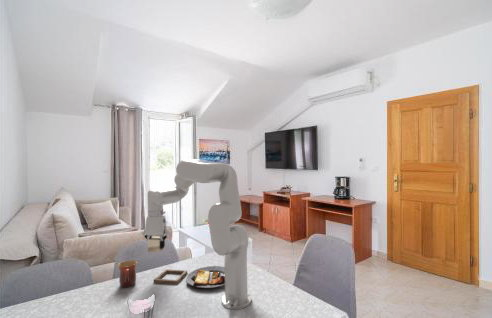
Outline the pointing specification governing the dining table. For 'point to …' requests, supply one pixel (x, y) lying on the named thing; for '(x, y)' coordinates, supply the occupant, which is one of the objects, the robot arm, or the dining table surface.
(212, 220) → the robot arm
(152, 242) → the birch block
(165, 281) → the walnut frame
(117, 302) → the dining table surface
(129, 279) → the mug
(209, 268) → the food plate
